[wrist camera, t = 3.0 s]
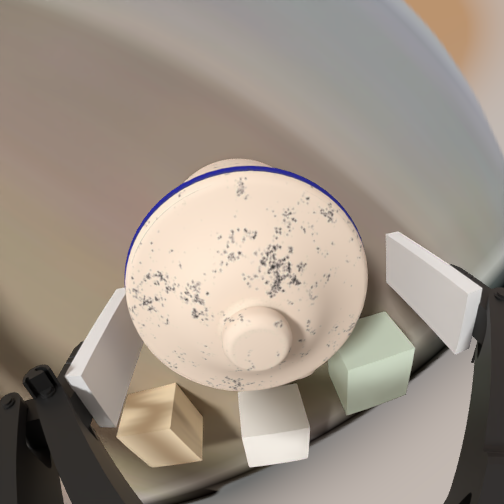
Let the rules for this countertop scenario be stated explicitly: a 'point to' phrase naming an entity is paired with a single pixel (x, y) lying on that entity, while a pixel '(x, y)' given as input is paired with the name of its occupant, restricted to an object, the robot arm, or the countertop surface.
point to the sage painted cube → (372, 364)
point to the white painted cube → (274, 425)
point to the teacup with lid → (246, 277)
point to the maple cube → (162, 427)
